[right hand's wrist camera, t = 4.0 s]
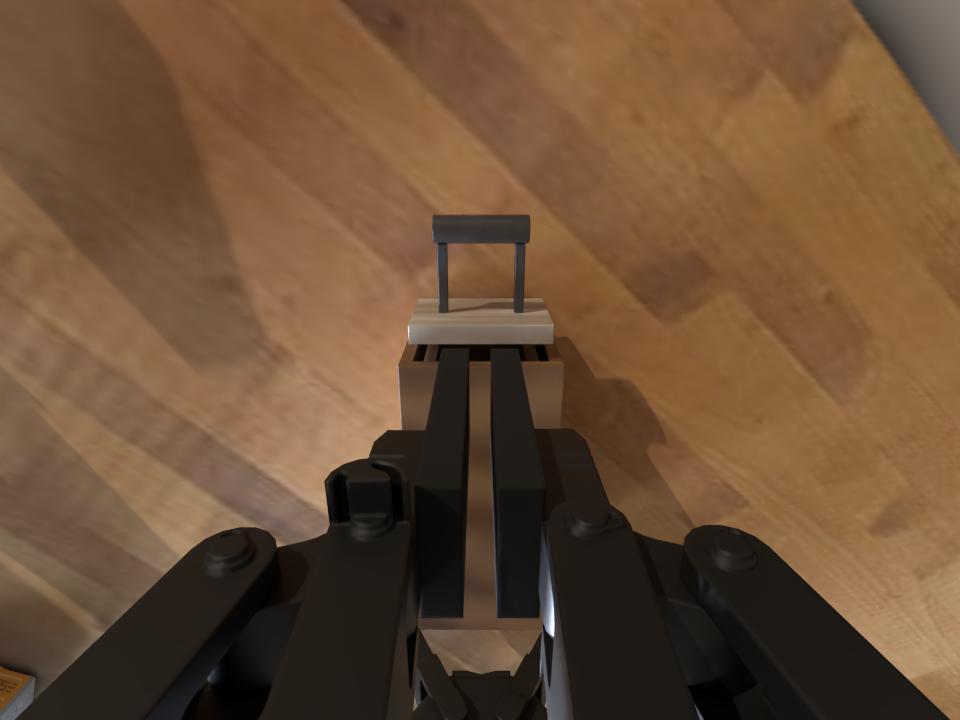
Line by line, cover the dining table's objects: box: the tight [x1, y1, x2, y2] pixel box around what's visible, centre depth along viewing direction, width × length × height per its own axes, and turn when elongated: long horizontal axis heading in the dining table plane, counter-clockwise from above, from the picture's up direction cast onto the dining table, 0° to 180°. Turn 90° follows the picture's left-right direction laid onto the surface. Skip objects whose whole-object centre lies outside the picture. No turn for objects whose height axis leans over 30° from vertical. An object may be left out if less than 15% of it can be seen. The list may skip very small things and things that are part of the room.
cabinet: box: [398, 339, 565, 630], centre depth 38 cm, size 20×10×8 cm, turn 0°
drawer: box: [408, 215, 554, 362], centre depth 36 cm, size 25×8×6 cm, turn 0°
